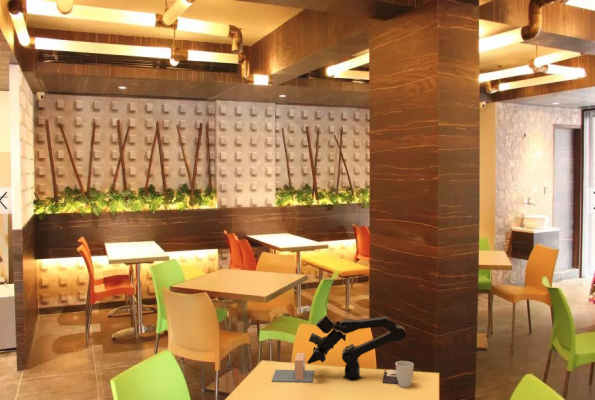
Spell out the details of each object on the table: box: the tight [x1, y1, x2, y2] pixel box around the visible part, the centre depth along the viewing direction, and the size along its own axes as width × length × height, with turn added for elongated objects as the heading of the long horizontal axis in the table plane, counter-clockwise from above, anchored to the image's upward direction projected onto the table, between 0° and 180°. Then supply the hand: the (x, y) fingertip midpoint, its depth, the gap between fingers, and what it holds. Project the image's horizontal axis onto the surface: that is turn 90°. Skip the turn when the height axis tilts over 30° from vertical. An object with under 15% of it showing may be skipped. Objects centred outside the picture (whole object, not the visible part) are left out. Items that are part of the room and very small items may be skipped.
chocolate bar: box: [382, 369, 399, 385], centre depth 258 cm, size 9×1×18 cm
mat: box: [271, 369, 315, 384], centre depth 260 cm, size 19×16×1 cm
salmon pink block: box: [294, 352, 306, 380], centre depth 260 cm, size 4×12×9 cm, turn 175°
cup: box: [395, 360, 414, 388], centre depth 247 cm, size 8×8×10 cm
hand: (307, 363), depth 259 cm, fingers closed
